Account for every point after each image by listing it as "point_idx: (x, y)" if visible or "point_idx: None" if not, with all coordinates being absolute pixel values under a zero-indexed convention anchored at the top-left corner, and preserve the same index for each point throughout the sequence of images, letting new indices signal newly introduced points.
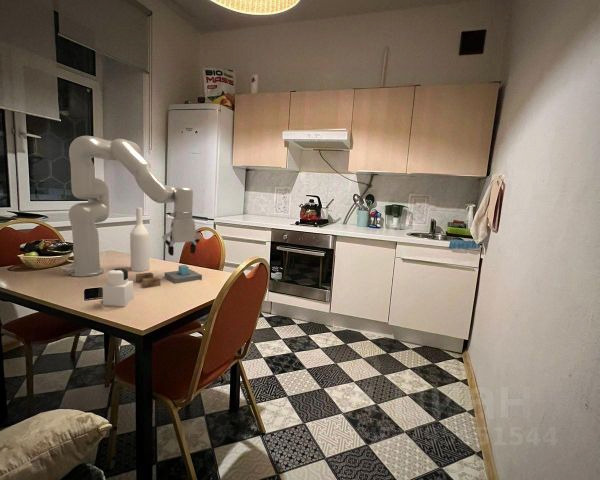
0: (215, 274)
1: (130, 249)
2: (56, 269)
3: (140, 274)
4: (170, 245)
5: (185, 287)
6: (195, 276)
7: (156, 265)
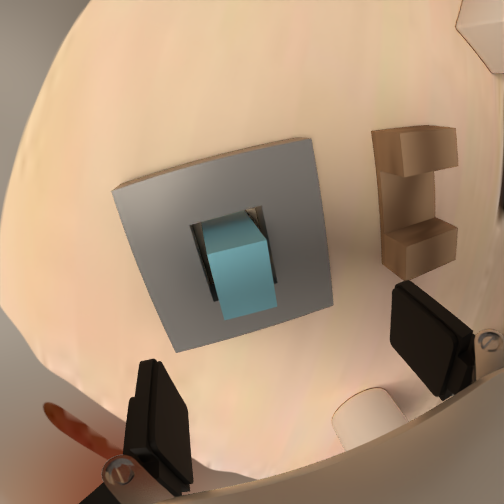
0: (38, 295)
1: None
2: None
3: (445, 250)
4: (489, 342)
5: (252, 61)
6: (161, 173)
7: (295, 449)
